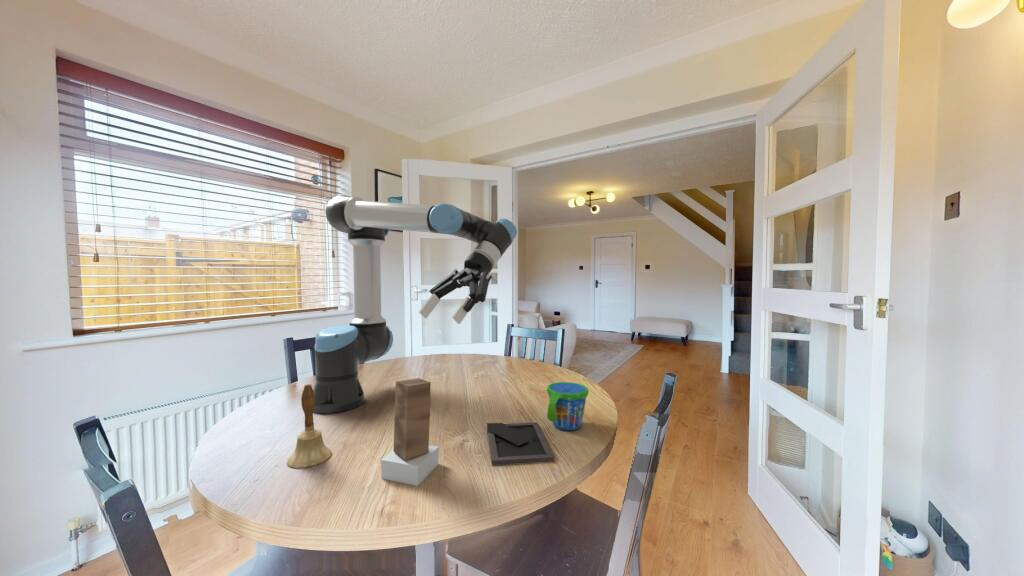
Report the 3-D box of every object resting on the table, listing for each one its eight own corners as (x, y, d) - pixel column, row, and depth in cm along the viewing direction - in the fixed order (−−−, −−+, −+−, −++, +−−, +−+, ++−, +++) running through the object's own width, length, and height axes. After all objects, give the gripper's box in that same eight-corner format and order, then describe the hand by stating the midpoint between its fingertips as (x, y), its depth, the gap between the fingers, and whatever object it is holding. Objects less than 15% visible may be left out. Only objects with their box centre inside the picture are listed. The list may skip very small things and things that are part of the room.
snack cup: (568, 412, 100) (569, 377, 100) (600, 423, 93) (601, 385, 93) (532, 428, 90) (532, 389, 89) (565, 442, 82) (565, 399, 82)
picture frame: (486, 430, 90) (491, 468, 72) (486, 422, 89) (492, 458, 72) (537, 428, 91) (554, 464, 73) (537, 420, 91) (554, 454, 73)
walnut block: (393, 451, 70) (395, 381, 70) (416, 444, 73) (418, 378, 74) (405, 460, 66) (407, 386, 66) (428, 452, 69) (430, 382, 70)
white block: (381, 480, 67) (381, 459, 67) (405, 459, 75) (405, 441, 75) (417, 487, 65) (417, 466, 65) (438, 465, 72) (438, 446, 72)
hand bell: (323, 466, 71) (322, 389, 71) (279, 470, 70) (277, 392, 69) (336, 447, 79) (336, 378, 79) (297, 450, 78) (296, 380, 78)
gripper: (521, 270, 92) (479, 333, 81) (460, 270, 109) (418, 321, 98) (509, 249, 88) (463, 312, 77) (446, 252, 104) (401, 304, 94)
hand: (438, 317), depth 87 cm, fingers open, 13 cm apart
